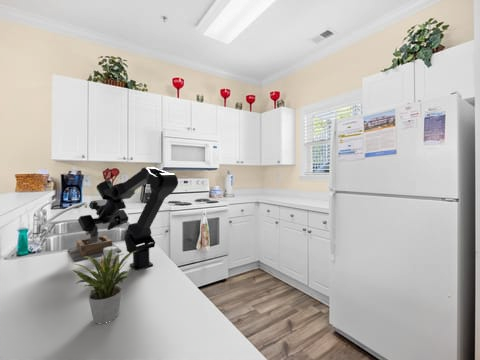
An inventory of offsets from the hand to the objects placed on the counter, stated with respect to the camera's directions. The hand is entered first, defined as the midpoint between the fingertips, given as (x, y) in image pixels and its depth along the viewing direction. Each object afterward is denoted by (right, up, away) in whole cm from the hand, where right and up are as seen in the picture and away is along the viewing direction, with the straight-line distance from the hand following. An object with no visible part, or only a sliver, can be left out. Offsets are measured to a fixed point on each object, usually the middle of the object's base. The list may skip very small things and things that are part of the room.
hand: (97, 231), depth 105 cm
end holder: (-3, -9, +2) cm, 10 cm away
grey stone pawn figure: (-2, -8, +2) cm, 9 cm away
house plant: (+30, -11, -45) cm, 55 cm away
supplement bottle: (+18, -10, -23) cm, 31 cm away
